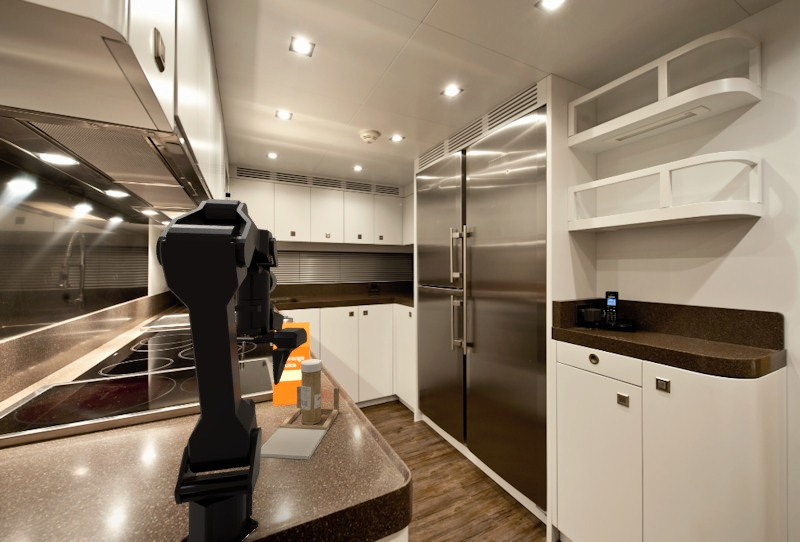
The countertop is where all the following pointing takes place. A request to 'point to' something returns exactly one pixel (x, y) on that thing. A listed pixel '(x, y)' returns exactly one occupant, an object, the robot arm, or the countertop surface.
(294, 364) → the orange juice
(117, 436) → the countertop surface
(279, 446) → the mat
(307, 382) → the sprinkles bottle
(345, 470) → the countertop surface
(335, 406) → the frame
